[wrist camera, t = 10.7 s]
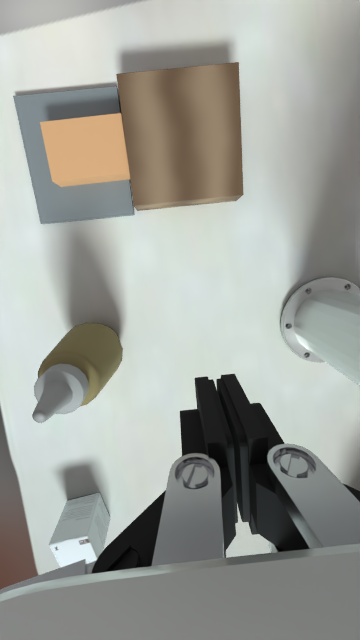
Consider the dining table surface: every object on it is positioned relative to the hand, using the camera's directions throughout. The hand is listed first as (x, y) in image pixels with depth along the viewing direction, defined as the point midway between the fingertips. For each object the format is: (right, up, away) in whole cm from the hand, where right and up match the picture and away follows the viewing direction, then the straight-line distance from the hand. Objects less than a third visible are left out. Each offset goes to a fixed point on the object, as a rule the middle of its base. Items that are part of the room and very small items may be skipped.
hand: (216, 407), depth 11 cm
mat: (-14, +24, +22) cm, 35 cm away
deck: (-1, +25, +22) cm, 33 cm away
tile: (-12, +24, +21) cm, 34 cm away
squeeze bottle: (-13, 0, +28) cm, 31 cm away
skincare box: (-17, -29, +35) cm, 49 cm away
